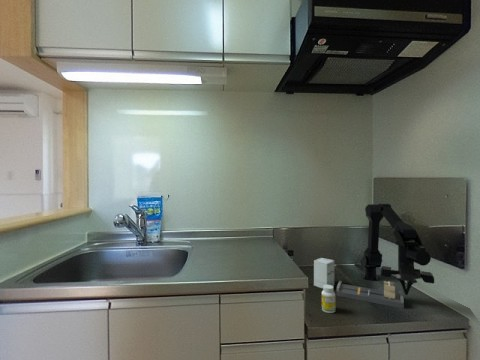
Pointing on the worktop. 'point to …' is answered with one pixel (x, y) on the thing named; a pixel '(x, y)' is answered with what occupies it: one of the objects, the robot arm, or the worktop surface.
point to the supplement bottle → (328, 299)
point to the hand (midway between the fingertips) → (406, 294)
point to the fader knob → (389, 289)
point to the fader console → (369, 295)
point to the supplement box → (323, 272)
